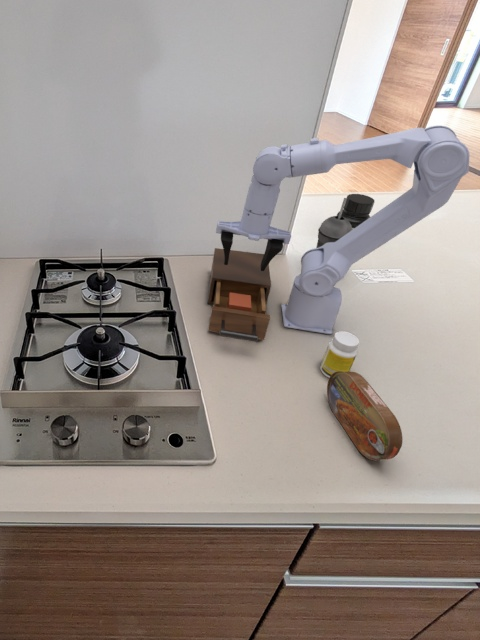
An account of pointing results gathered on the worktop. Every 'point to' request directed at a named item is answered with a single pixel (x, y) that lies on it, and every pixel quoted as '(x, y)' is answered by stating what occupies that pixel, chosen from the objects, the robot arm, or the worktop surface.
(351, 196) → the ink bottle
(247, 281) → the cabinet
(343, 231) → the beverage cup
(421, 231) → the worktop surface
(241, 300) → the block
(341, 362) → the supplement bottle
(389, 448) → the tin
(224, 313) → the drawer
